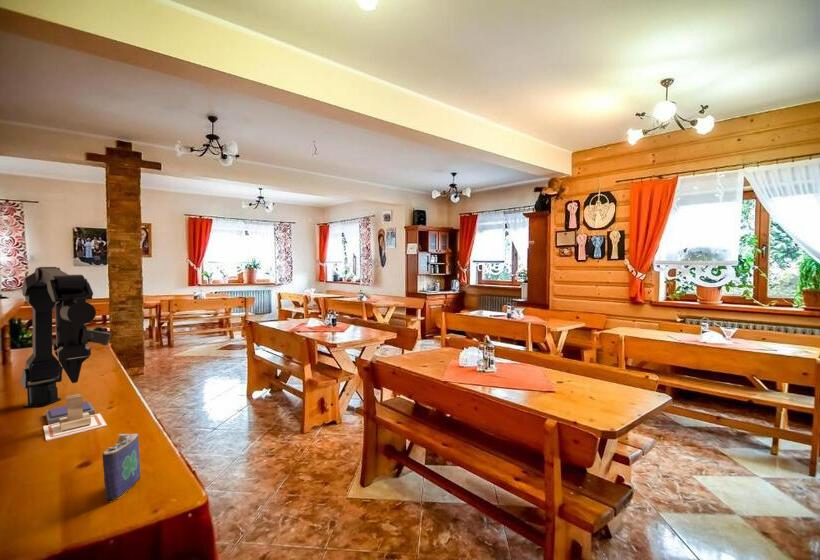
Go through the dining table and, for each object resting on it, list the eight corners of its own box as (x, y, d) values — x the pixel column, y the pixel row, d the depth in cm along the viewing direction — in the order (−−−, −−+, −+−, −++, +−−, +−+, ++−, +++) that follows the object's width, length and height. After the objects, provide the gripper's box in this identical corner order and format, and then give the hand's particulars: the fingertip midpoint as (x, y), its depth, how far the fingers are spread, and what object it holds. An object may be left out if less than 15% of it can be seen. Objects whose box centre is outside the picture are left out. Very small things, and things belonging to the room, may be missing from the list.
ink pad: (46, 415, 113) (45, 408, 113) (90, 405, 120) (89, 399, 120) (48, 424, 106) (47, 418, 106) (94, 414, 113) (94, 407, 113)
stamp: (59, 425, 104) (58, 396, 104) (88, 419, 109) (87, 391, 108) (61, 432, 100) (59, 401, 100) (91, 425, 104) (89, 396, 104)
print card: (43, 427, 104) (43, 425, 104) (99, 414, 113) (99, 413, 113) (46, 441, 96) (46, 439, 96) (106, 425, 104) (106, 424, 104)
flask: (130, 475, 79) (128, 424, 79) (145, 474, 80) (143, 423, 79) (100, 503, 70) (98, 445, 70) (118, 502, 70) (116, 444, 70)
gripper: (113, 321, 103) (116, 379, 103) (102, 315, 115) (104, 367, 116) (57, 326, 95) (60, 389, 95) (51, 319, 107) (54, 375, 108)
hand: (72, 379), depth 104 cm, fingers open, 9 cm apart
